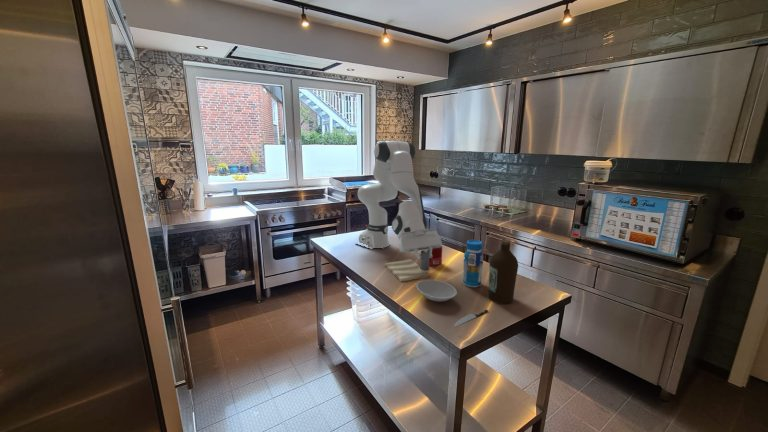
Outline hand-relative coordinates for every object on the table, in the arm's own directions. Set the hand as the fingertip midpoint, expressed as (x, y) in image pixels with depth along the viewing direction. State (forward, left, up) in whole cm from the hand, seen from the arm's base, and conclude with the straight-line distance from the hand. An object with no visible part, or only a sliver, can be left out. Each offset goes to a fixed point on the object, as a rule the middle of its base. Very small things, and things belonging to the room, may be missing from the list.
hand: (425, 258), depth 133 cm
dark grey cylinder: (-1, 0, -5) cm, 5 cm away
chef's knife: (+25, -15, -13) cm, 32 cm away
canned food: (-7, +24, -13) cm, 29 cm away
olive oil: (+31, +5, -13) cm, 34 cm away
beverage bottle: (+17, +12, -13) cm, 25 cm away
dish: (+9, -10, -13) cm, 19 cm away
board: (-15, +8, -13) cm, 21 cm away
